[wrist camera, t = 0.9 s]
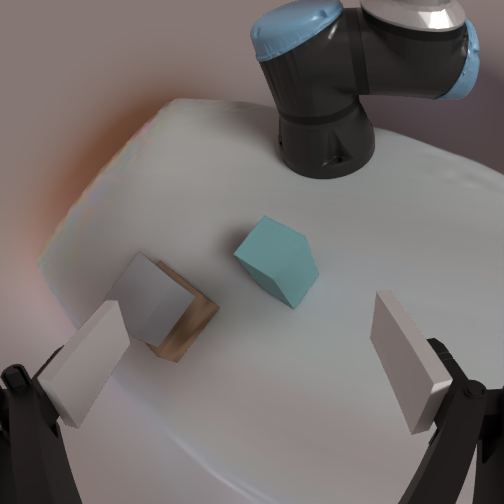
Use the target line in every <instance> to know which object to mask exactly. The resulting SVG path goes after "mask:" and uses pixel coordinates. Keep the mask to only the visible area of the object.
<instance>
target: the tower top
mask: <svg viewBox="0 0 504 504" xmlns="http://www.w3.org/2000/svg"><path fill="white" fill-rule="evenodd" d="M195 297H196V296H195V295H193V294H192V293H191V292H189V291H188V290H187V289H186V288H184V287H183V286H182V285H181V284H180V283H178V282H177V281H176V280H175V279H173V278H172V277H171V276H170V275H168V274H167V273H166V272H165V271H164V270H162V269H161V268H160V267H159V266H157V265H156V264H155V263H154V262H152V261H151V260H150V259H148V258H147V257H146V256H144V255H143V254H142V253H141V252H138V253H137V255H136V256H135V257H134V259H133V260H132V261H131V263H130V264H129V265H128V267H127V268H126V269H125V271H124V272H123V274H122V275H121V276H120V278H119V279H118V280H117V282H116V283H115V285H114V286H113V287H112V289H111V290H110V292H109V293H108V294H107V296H106V297H105V299H104V300H103V301H104V302H105V301H106V300H112V301H118V304H119V307H120V311H121V315H122V318H123V321H124V325H125V328H126V329H127V330H128V332H129V333H130V334H131V335H132V336H133V338H135V339H138V340H141V341H143V342H146V343H148V344H151V345H154V346H156V347H159V346H160V344H161V343H162V342H163V340H164V339H165V338H166V336H167V335H168V334H169V332H170V331H171V330H172V328H173V327H174V326H175V324H176V323H177V321H178V320H179V319H180V317H181V316H182V315H183V313H184V312H185V311H186V309H187V308H188V307H189V305H190V304H191V303H192V301H193V300H194V299H195Z"/></svg>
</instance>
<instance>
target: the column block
mask: <svg viewBox="0 0 504 504" xmlns="http://www.w3.org/2000/svg"><path fill="white" fill-rule="evenodd" d="M234 256H235V257H236V258H237V259H238V260H239V262H240V263H241V264H242V265H243V266H244V268H245V269H246V270H247V271H248V272H249V274H250V275H251V276H252V277H253V278H254V280H255V281H256V282H257V283H258V284H259V286H260V287H261V288H262V289H264V290H265V291H267V292H268V293H270V294H271V295H273V296H274V297H276V298H278V299H279V300H281V301H282V302H284V303H285V304H287V305H288V306H290V307H291V308H293V309H295V307H296V306H297V305H298V303H299V302H300V300H301V299H302V298H303V296H304V295H305V293H306V292H307V291H308V289H309V288H310V286H311V285H312V283H313V282H314V281H315V279H316V278H317V276H318V275H319V274H318V271H317V268H316V265H315V262H314V259H313V257H312V254H311V251H310V248H309V245H308V242H307V239H306V236H305V235H303V234H301V233H299V232H297V231H295V230H293V229H291V228H289V227H287V226H285V225H283V224H281V223H279V222H277V221H275V220H273V219H271V218H269V217H267V216H265V215H264V216H263V218H262V219H261V220H260V221H259V223H258V224H257V225H256V226H255V228H254V229H253V230H252V231H251V233H250V234H249V235H248V236H247V238H246V239H245V240H244V241H243V243H242V244H241V245H240V247H239V248H238V249H237V250H236V252H235V253H234Z"/></svg>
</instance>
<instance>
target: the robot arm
mask: <svg viewBox="0 0 504 504" xmlns="http://www.w3.org/2000/svg"><path fill="white" fill-rule="evenodd" d="M360 5H361V7H360V8H343V4H342V3H341V2H340V1H339V0H298V1H294V2H291V3H288V4H285V5H283V6H280V7H278V8H276V9H274V10H272V11H270V12H268V13H266V14H265V15H263V16H262V17H260V18H259V19H258V20H257V21H256V22H255V23H254V24H253V26H252V28H251V32H250V37H251V40H252V43H253V46H254V49H255V51H256V59H257V61H259V63H260V66H261V68H262V70H263V73H264V75H265V78H266V80H267V83H268V85H269V88H270V90H271V93H272V96H273V98H274V101H275V103H276V106H277V109H278V112H279V115H280V116H279V139H278V143H279V148H280V151H281V154H282V157H283V159H284V161H285V163H286V164H287V165H288V166H289V167H290V168H291V169H292V170H293V171H295V172H297V173H299V174H301V175H303V176H306V177H311V178H317V179H331V178H338V177H342V176H345V175H348V174H351V173H353V172H355V171H357V170H359V169H360V168H362V167H363V166H364V165H365V164H366V163H367V162H368V161H369V160H370V158H371V157H372V155H373V153H374V149H375V134H374V129H373V126H372V124H371V123H370V121H369V119H368V117H367V115H366V113H365V111H364V109H363V107H362V105H361V103H360V101H359V95H390V96H405V97H418V98H428V99H432V100H441V99H450V100H457V99H461V98H463V97H465V96H466V95H467V94H468V93H469V92H470V91H471V89H472V88H473V86H474V84H475V81H476V78H477V75H478V70H479V58H478V56H477V54H478V52H479V43H478V38H477V34H476V32H475V29H474V27H473V25H472V24H471V22H470V21H469V20H468V19H467V18H465V12H464V10H463V8H462V7H461V6H460V5H459V4H458V2H457V1H456V0H360ZM370 339H371V341H372V343H373V345H374V348H375V350H376V352H377V354H378V356H379V358H380V361H381V363H382V365H383V367H384V370H385V372H386V374H387V376H388V379H389V381H390V383H391V386H392V388H393V390H394V393H395V395H396V397H397V400H398V402H399V405H400V407H401V409H402V412H403V414H404V417H405V419H406V422H407V424H408V427H409V429H410V432H411V435H412V434H416V433H420V432H424V431H428V430H429V429H430V427H431V425H432V423H433V421H434V422H435V424H436V426H437V429H436V431H435V433H434V434H433V436H432V438H431V440H430V441H429V443H428V444H429V446H428V449H427V451H426V453H425V455H424V457H423V459H422V461H421V463H420V465H419V467H418V469H417V471H416V473H415V475H414V477H413V479H412V480H411V482H410V484H409V486H408V488H407V489H406V491H405V493H404V495H403V496H402V498H401V500H400V501H399V503H398V504H455V503H456V501H457V498H458V496H459V494H460V491H461V489H462V486H463V484H464V481H465V478H466V475H467V473H468V470H469V467H470V464H471V461H472V458H473V455H474V451H475V448H476V444H477V461H476V476H475V486H474V495H473V503H472V504H504V386H503V388H502V389H491V390H487V389H486V387H485V386H484V385H483V384H482V383H480V382H478V381H476V380H468V378H467V377H466V375H465V374H464V372H463V371H462V369H461V368H460V367H459V365H458V364H457V362H456V361H455V359H453V357H452V355H451V354H450V353H449V351H448V350H447V348H446V347H445V346H444V344H443V343H441V342H440V341H438V340H437V339H435V338H431V339H426V338H425V337H424V336H423V334H422V333H421V331H420V330H419V328H418V327H417V326H416V324H415V323H414V322H413V320H412V319H411V317H410V316H409V315H408V313H407V312H406V311H405V309H404V308H403V306H402V305H401V304H400V302H399V301H398V300H397V298H396V297H395V296H394V295H393V293H392V292H391V291H381V292H376V300H375V308H374V316H373V323H372V329H371V336H370ZM129 345H130V341H129V338H128V334H127V331H126V328H125V325H124V321H123V318H122V315H121V311H120V307H119V304H118V301H112V300H106V301H105V302H104V303H103V304H102V305H101V306H100V307H99V308H98V309H97V310H96V311H95V312H94V314H93V315H92V316H91V317H90V318H89V319H88V320H87V321H86V322H85V323H84V324H83V325H82V327H81V328H80V329H79V330H78V331H77V332H76V333H75V334H74V336H73V337H72V338H71V339H70V340H69V341H68V342H67V343H66V344H65V345H63V346H62V347H60V348H59V349H58V350H56V351H55V352H54V353H53V354H52V356H51V357H50V358H49V359H48V360H47V361H46V364H44V365H43V366H42V367H41V368H40V369H39V371H38V372H37V373H36V374H35V375H34V377H33V378H32V379H30V377H29V375H28V373H27V371H26V369H25V368H24V366H23V365H21V364H14V365H11V366H9V367H7V368H6V369H5V370H4V371H3V372H2V374H1V379H2V380H3V382H4V384H5V386H6V387H7V389H2V387H1V386H0V426H1V427H0V504H82V501H81V498H80V496H79V493H78V490H77V487H76V484H75V481H74V478H73V475H72V472H71V469H70V465H69V462H68V458H67V455H66V451H65V447H64V443H63V439H62V435H61V431H60V426H59V425H58V423H57V421H56V420H57V419H58V417H59V416H60V417H61V419H62V420H63V422H64V423H65V425H68V426H71V427H75V428H79V427H80V425H81V424H82V422H83V420H84V418H85V417H86V415H87V413H88V411H89V410H90V408H91V406H92V405H93V403H94V401H95V399H96V398H97V396H98V395H99V393H100V391H101V390H102V388H103V386H104V384H105V383H106V381H107V380H108V378H109V376H110V375H111V373H112V372H113V370H114V368H115V367H116V365H117V364H118V362H119V360H120V359H121V357H122V356H123V354H124V352H125V351H126V349H127V348H128V346H129Z"/></svg>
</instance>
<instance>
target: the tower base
mask: <svg viewBox="0 0 504 504" xmlns="http://www.w3.org/2000/svg"><path fill="white" fill-rule="evenodd" d="M157 266H159V267H160V268H161V269H162V270H164V271H165V272H166V273H167V274H168V275H170V276H171V277H172V278H173V279H175V280H176V281H177V282H178V283H180V284H181V285H182V286H183V287H184V288H186V289H187V290H188V291H189V292H191V293H192V294H193V295H195V296H196V297H195V299H194V300H193V301H192V303H191V304H190V305H189V307H188V308H187V309H186V311H185V312H184V313H183V315H182V316H181V317H180V319H179V320H178V321H177V323H176V324H175V326H174V327H173V328H172V330H171V331H170V332H169V334H168V335H167V336H166V338H165V339H164V340H163V342H162V343H161V344H160V346H159V347H156V346H154V345H151V344H148V343H146V342H145V343H146V344H147V345H148V347H149V348H150V349H151V350H152V351H153V352H154V353H155V354H156V355H157V356H158V357H161V358H164V359H168V360H171V361H174V362H178V361H179V360H180V358H181V357H182V356H183V355H184V353H185V352H186V351H187V349H188V348H189V347H190V346H191V344H192V343H193V342H194V340H195V339H196V338H197V337H198V335H199V334H200V333H201V331H202V330H203V329H204V327H205V326H206V325H207V324H208V322H209V321H210V320H211V318H212V317H213V316H214V314H215V313H216V312H217V311H218V309H219V307H218V306H217V305H215V304H214V303H213V302H212V301H210V300H209V299H208V298H206V297H205V296H204V295H203V294H201V293H200V292H199V291H198V290H196V289H195V288H194V287H193V286H191V285H190V284H189V283H188V282H186V281H185V280H184V279H183V278H182V277H180V276H179V275H178V274H177V273H175V272H174V271H173V270H172V269H170V268H169V267H168V266H166V265H165V264H164V263H163V262H161V261H159V262H158V263H157Z"/></svg>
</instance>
